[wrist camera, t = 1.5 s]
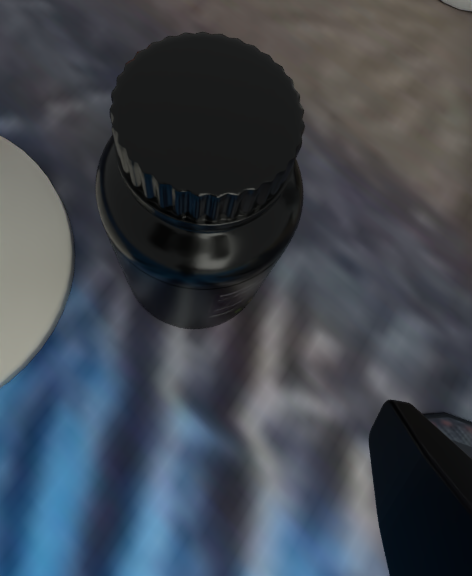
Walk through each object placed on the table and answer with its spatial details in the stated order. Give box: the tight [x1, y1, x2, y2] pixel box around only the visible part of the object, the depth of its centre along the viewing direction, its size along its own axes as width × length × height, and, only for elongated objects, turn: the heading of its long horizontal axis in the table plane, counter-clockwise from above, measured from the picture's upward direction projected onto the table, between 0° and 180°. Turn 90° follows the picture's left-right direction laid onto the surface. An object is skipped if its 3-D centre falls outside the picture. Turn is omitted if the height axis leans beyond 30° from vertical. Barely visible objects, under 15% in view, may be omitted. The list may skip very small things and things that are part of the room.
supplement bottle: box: [96, 32, 305, 329], centre depth 16 cm, size 7×7×12 cm
